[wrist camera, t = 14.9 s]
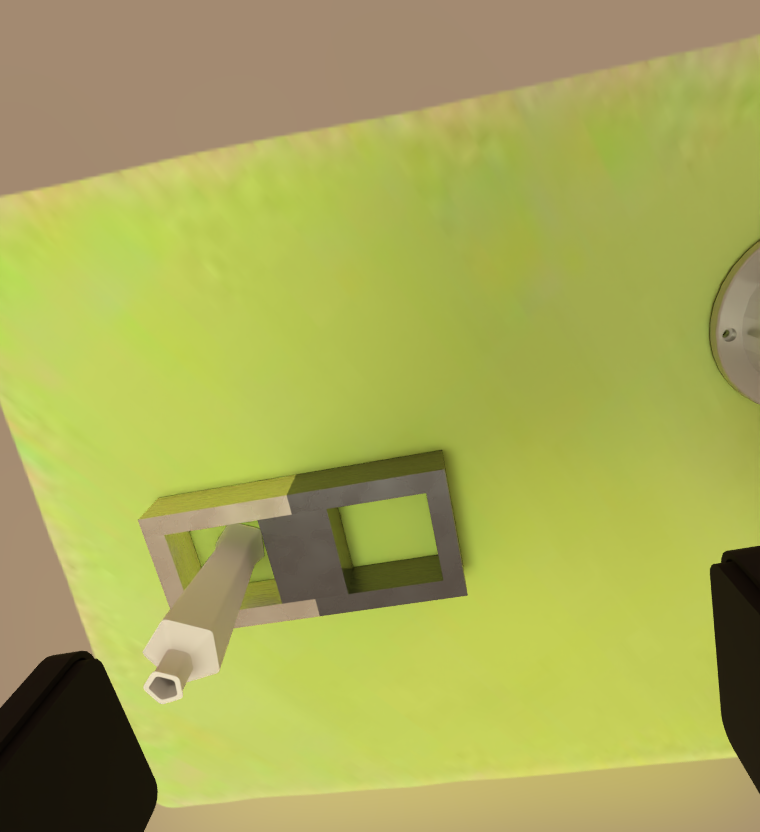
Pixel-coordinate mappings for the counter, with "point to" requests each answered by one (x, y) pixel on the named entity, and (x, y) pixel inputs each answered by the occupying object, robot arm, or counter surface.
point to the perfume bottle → (203, 616)
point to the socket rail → (313, 539)
